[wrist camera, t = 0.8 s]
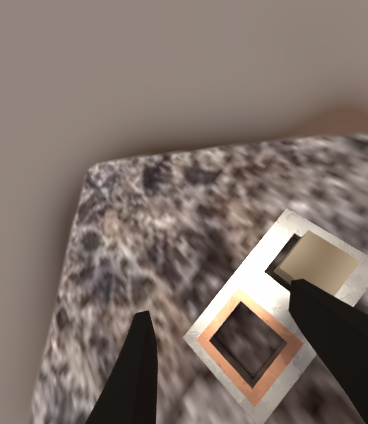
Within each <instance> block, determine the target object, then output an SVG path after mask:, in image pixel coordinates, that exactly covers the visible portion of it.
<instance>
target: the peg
mask: <svg viewBox="0 0 368 424" xmlns="http://www.w3.org/2000/svg"><path fill="white" fill-rule="evenodd" d="M360 262H361V261H359V260H357V259H356V258H354V257H352V256H351V255H349V254H348V253H346V252H344V251H343V250H341V249H339V248H338V247H336V246H334V245H333V244H331V243H330V242H328V241H326V240H325V239H323V238H321V237H320V236H318V235H316V234H315V233H313V232H312V231H310V230H308V231H307V232H306V233H305V234H304V235H303V236H302V237H301V238H300V239H299V240H298V241H297V243H296V244H295V245H294V246H293V247H292V248H291V249H290V251H289V252H288V253H287V255H286V256H285V257H284V258H283V260H282V261H281V262H280V263H279V265H278V266H277V267H276V268H275V270H274V271H273V272H274V273H275V274H276V275H277V276H279V277H280V278H281V279H283V280H284V281H285V282H287V283H288V284H289V285H290V286H291V281H293V280H298V279H302V278H303V279H305V280H306V281H308V282H310V283H312V284H314V285H315V286H317V287H319V288H321V289H322V290H324V291H326V292H328V293H329V294H331V295H333V296H335V295H336V293H337V292H338V291H339V290H340V288H341V287H342V286H343V284H344V283H345V282H346V281H347V279H348V278H349V277H350V275H351V274H352V273H353V272H354V270H355V269H356V268H357V266H358V265H359V264H360Z"/></svg>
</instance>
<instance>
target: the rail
mask: <svg viewBox="0 0 368 424" xmlns="http://www.w3.org/2000/svg"><path fill="white" fill-rule="evenodd" d="M308 230H310V231H312V232H313V233H315V234H316V235H318V236H320V237H321V238H323V239H325V240H326V241H328V242H330V243H331V244H333V245H334V246H336V247H338V248H339V249H341V250H343V251H344V252H346V253H348V254H349V255H351V256H352V257H354V258H356V259H357V260H359V261H361V262H360V264H359V265H358V266H357V268H356V269H355V270H354V272H353V273H352V274H351V275H350V277H349V278H348V279H347V281H346V282H345V283H344V284H343V286H342V287H341V288H340V290H339V291H338V292H337V293H336V295H335V296H334V297H336V298H338V299H340V300H342V301H343V302H345V303H347V304H349V305H350V306H352V307H354V305H355V304H356V303H357V301H358V300H359V299H360V298H361V296H362V295H363V294H364V292H365V291H366V290H367V288H368V256H367V255H365V254H364V253H362V252H360V251H359V250H357V249H355V248H354V247H352V246H350V245H348V244H347V243H345V242H343V241H342V240H340V239H338V238H337V237H335V236H333V235H332V234H330V233H328V232H326V231H325V230H323V229H321V228H320V227H318V226H316V225H315V224H313V223H311V222H310V221H308V220H306V219H304V218H303V217H301V216H299V215H298V214H296V213H294V212H293V211H291V210H289V209H288V208H286V210H285V211H284V212H283V213H282V215H281V216H280V217H279V218H278V220H277V221H276V222H275V223H274V225H273V226H272V227H271V228H270V230H269V231H268V232H267V233H266V235H265V236H264V237H263V238H262V240H261V241H260V242H259V243H258V245H257V246H256V247H255V248H254V250H253V251H252V252H251V253H250V255H249V256H248V257H247V258H246V260H245V261H244V262H243V263H242V265H241V266H240V267H239V268H238V270H237V271H236V272H235V273H234V274H233V276H232V277H231V278H230V279H229V281H228V282H227V283H226V284H225V286H224V287H223V288H222V289H221V291H220V292H219V293H218V294H217V296H216V297H215V298H214V299H213V301H212V302H211V303H210V304H209V306H208V307H207V308H206V309H205V311H204V312H203V313H202V314H201V316H200V317H199V318H198V319H197V321H196V322H195V323H194V324H193V326H192V327H191V328H190V329H189V331H188V332H187V333H186V334H185V336H184V337H183V338H184V339H185V341H186V342H187V343H188V344H189V345H190V347H191V348H192V349H193V350H194V351H195V353H196V354H197V355H198V356H199V357H200V358H201V360H202V361H203V362H204V363H205V364H206V366H207V367H208V368H209V369H210V370H211V372H212V373H213V374H214V375H215V376H216V378H217V379H218V380H219V381H220V382H221V383H222V385H223V386H224V387H225V388H226V389H227V391H228V392H229V393H230V394H231V395H232V397H233V398H234V399H235V400H236V401H237V402H238V404H239V405H240V406H241V407H242V408H243V410H244V411H245V412H246V413H247V414H248V416H249V417H250V418H251V419H252V420H253V422H254V423H255V424H264V423H265V421H266V420H267V419H268V417H269V416H270V415H271V413H272V412H273V411H274V409H275V408H276V407H277V406H278V404H279V403H280V402H281V400H282V399H283V398H284V396H285V395H286V394H287V393H288V391H289V390H290V389H291V387H292V386H293V385H294V383H295V382H296V381H297V380H298V378H299V377H300V376H301V374H302V373H303V372H304V370H305V369H306V368H307V367H308V365H309V364H310V363H311V361H312V360H313V359H314V357H315V356H316V355H317V353H316V352H315V350H314V349H313V348H312V346H311V345H310V344H309V342H308V341H307V340H306V338H305V337H304V336H303V334H302V333H301V331H300V330H299V328H298V326H297V325H296V323H295V322H294V320H293V318H292V316H291V315H290V313H289V311H288V309H289V299H290V292H289V291H288V290H286V289H285V288H284V287H282V286H281V285H280V284H279V283H277V282H276V281H275V280H274V279H272V278H271V277H270V276H268V275H267V274H266V273H265V272H264V271H265V270H266V268H267V267H268V266H269V265H270V263H271V262H272V261H273V260H274V258H275V257H276V256H277V254H278V253H279V252H280V251H281V249H282V248H283V247H284V246H285V244H286V243H287V242H288V241H289V239H290V238H291V237H293V238H295V239H296V240H299V239H300V238H301V237H302V236H303V235H304V234H305V233H306V232H307V231H308ZM240 301H242V302H243V303H244V304H245V305H246V306H247V307H249V308H250V309H251V310H252V311H253V312H254V313H255V314H256V315H257V316H258V317H260V318H261V319H262V320H263V321H264V322H265V323H266V324H267V325H268V326H269V327H271V328H272V329H273V330H274V331H275V332H276V333H277V334H278V335H279V336H280V337H282V338H283V339H284V340H283V341H282V342H281V344H280V345H279V346H278V347H277V349H276V350H275V351H274V353H273V354H272V355H271V356H270V358H269V359H268V360H267V362H266V363H265V364H264V365H263V367H262V368H261V369H260V371H259V372H258V373H257V374H256V376H255V377H254V378H253V379H252V378H251V377H250V376H249V375H248V373H247V372H246V371H245V370H244V369H243V368H242V367H241V366H240V365H239V364H238V363H237V362H236V360H235V359H234V358H233V357H232V356H231V355H230V354H229V353H228V352H227V351H226V350H225V349H224V347H223V346H222V345H221V344H220V343H219V342H218V341H217V340H216V339H215V338H214V337H213V335H214V334H215V333H216V331H217V330H218V329H219V328H220V326H221V325H222V324H223V322H224V321H225V320H226V319H227V317H228V316H229V315H230V314H231V312H232V311H233V310H234V309H235V307H236V306H237V305H238V304H239V302H240Z"/></svg>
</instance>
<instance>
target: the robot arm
mask: <svg viewBox="0 0 368 424" xmlns="http://www.w3.org/2000/svg"><path fill="white" fill-rule="evenodd" d="M288 311H289V313H290V315H291V316H292V318H293V320H294V322H295V323H296V325H297V326H298V328H299V330H300V331H301V333H302V334H303V336H304V337H305V338H306V340H307V341H308V342H309V344H310V345H311V346H312V348H313V349H314V350H315V352H316V353H317V354H318V356H319V357H320V358H321V360H322V361H323V362H324V364H325V365H326V366H327V368H328V369H329V370H330V372H331V373H332V374H333V376H334V377H335V378H336V380H337V381H338V382H339V384H340V385H341V387H342V388H343V389H344V391H345V392H346V394H347V395H348V397H349V398H350V400H351V402H352V403H353V405H354V406H355V408H356V409H357V411H358V412H359V414H360V416H361V417H362V419H363V420H364V422H365V423H366V424H368V315H367V314H365V313H363V312H361V311H360V310H358V309H356V308H354V307H352V306H350V305H349V304H347V303H345V302H343V301H342V300H340V299H338V298H336V297H334V296H333V295H331V294H329V293H328V292H326V291H324V290H322V289H321V288H319V287H317V286H315V285H314V284H312V283H310V282H308V281H306V280H305V279H303V278H302V279H298V280H293V281H291V289H290V299H289V309H288ZM157 375H158V359H157V341H156V336H155V333H154V329H153V325H152V321H151V317H150V313H149V311H144V312H139V313H136V314H135V315H134V318H133V321H132V324H131V327H130V329H129V332H128V335H127V337H126V340H125V342H124V345H123V347H122V350H121V352H120V354H119V357H118V359H117V361H116V364H115V366H114V368H113V370H112V372H111V374H110V376H109V378H108V380H107V383H106V385H105V387H104V389H103V391H102V393H101V395H100V397H99V399H98V401H97V403H96V404H95V406H94V408H93V410H92V412H91V414H90V415H89V417H88V419H87V421H86V423H85V424H156V405H157Z"/></svg>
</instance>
